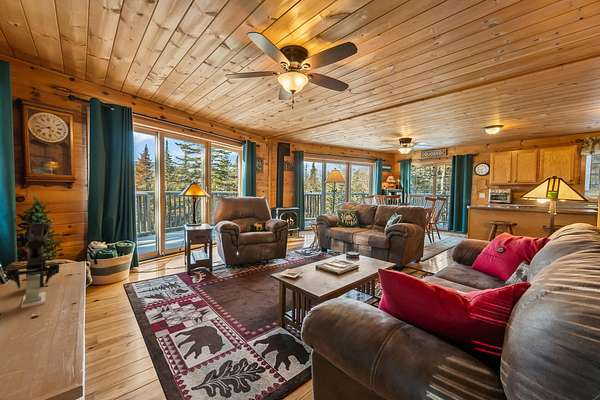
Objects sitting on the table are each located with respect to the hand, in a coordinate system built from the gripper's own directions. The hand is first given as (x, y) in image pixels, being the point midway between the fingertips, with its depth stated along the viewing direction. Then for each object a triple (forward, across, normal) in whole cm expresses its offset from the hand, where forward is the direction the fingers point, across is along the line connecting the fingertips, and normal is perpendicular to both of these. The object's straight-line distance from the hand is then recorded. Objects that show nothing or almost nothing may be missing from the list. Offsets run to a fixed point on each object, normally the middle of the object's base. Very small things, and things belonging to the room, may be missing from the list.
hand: (32, 286), depth 124 cm
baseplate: (+3, 0, +9) cm, 10 cm away
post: (+4, 0, +6) cm, 8 cm away
